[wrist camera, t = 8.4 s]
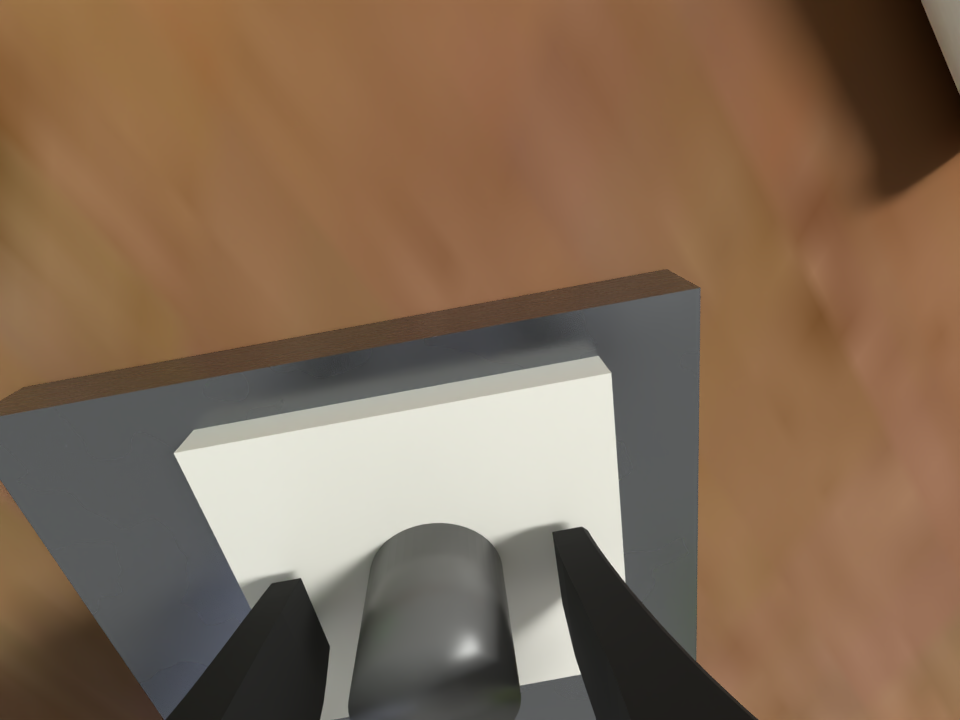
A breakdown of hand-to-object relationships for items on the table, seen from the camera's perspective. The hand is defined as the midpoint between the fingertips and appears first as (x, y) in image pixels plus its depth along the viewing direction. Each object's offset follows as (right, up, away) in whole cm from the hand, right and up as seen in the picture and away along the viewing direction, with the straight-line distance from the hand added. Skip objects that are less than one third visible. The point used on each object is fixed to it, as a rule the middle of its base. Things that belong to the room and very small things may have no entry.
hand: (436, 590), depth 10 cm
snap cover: (0, 0, +1) cm, 1 cm away
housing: (0, -4, +5) cm, 6 cm away
